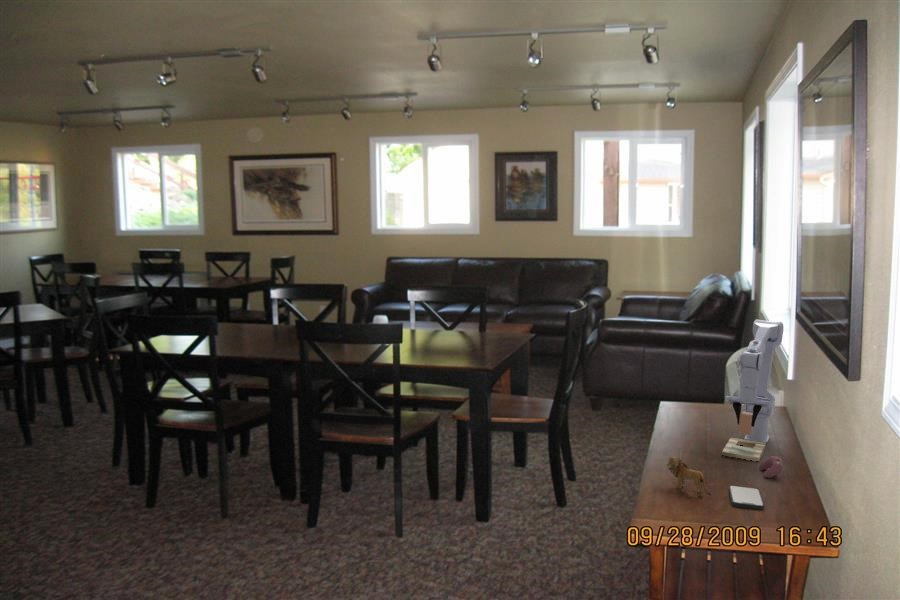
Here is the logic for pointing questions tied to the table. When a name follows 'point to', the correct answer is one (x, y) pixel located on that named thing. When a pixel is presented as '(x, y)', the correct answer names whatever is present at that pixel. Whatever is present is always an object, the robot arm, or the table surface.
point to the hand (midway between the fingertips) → (745, 424)
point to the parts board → (744, 449)
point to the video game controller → (772, 466)
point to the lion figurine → (686, 474)
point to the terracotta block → (745, 423)
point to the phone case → (746, 498)
